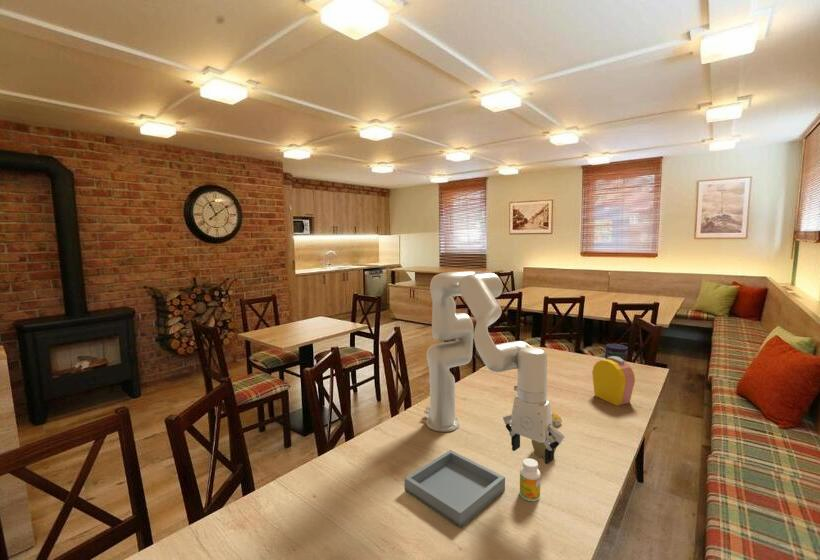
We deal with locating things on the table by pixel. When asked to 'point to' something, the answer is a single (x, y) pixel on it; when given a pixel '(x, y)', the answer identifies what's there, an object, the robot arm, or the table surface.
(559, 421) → the bread roll
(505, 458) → the table surface
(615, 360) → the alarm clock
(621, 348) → the storage jar
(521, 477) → the supplement bottle
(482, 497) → the box
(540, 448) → the squeeze bottle
